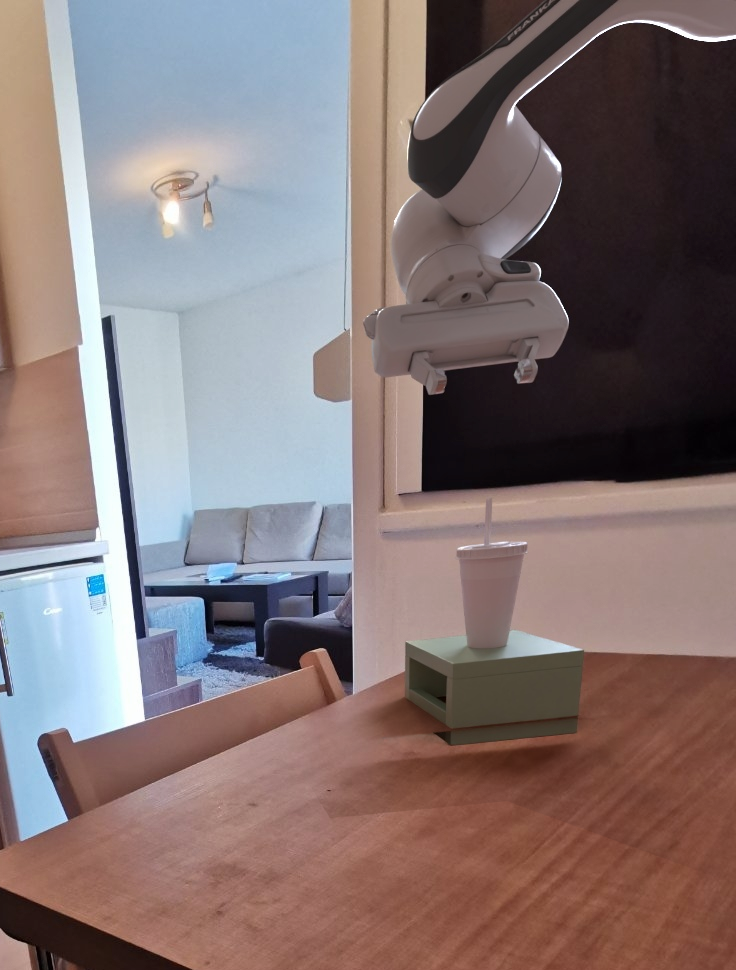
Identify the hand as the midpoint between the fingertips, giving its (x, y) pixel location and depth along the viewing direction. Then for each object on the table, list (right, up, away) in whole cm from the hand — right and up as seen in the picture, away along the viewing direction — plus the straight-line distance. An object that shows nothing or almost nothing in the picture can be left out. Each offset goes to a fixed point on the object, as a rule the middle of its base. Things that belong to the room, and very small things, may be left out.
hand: (483, 383), depth 81 cm
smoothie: (-1, -29, -4) cm, 29 cm away
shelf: (0, -36, -1) cm, 36 cm away
